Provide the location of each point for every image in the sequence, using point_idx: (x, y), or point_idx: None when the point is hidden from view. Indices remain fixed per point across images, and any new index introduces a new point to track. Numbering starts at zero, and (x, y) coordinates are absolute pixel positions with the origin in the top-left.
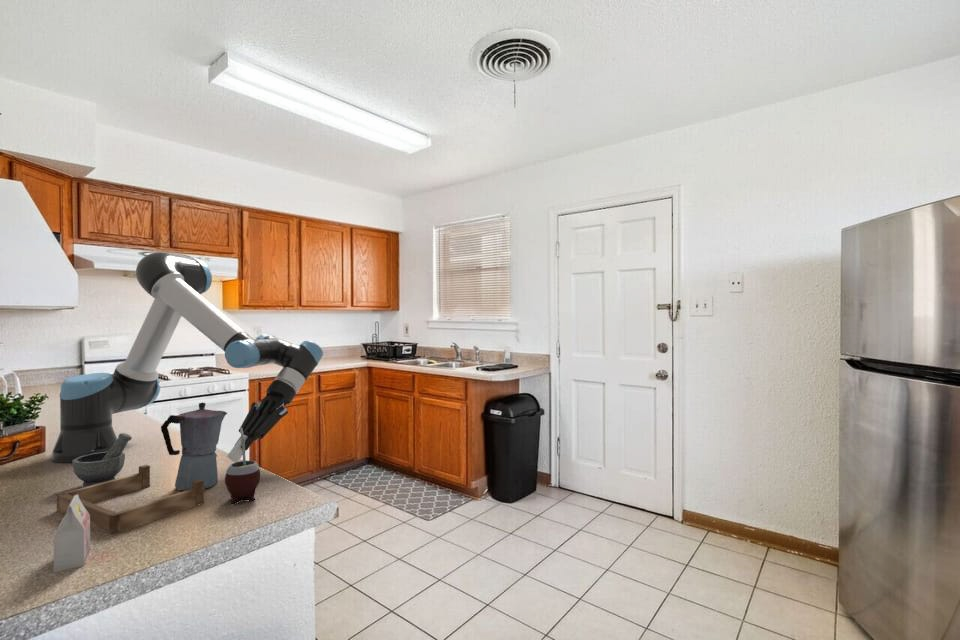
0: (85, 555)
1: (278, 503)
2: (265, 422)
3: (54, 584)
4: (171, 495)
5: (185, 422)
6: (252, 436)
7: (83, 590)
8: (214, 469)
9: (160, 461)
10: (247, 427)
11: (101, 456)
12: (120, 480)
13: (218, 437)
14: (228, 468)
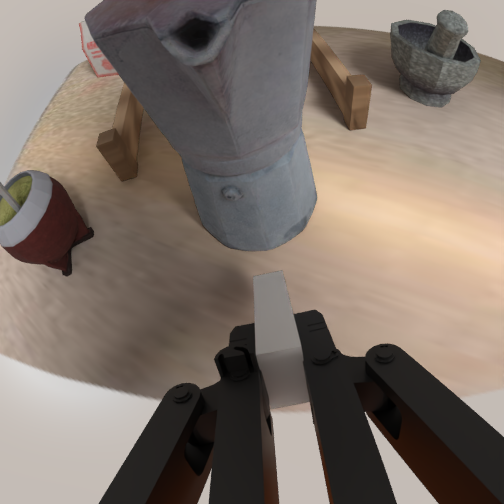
0: (102, 71)
1: (6, 283)
2: (131, 479)
3: (90, 69)
4: (124, 110)
5: None
6: (216, 383)
7: (61, 86)
8: (201, 205)
9: None
10: (331, 395)
11: (469, 59)
12: (330, 66)
13: (160, 130)
14: (34, 170)
